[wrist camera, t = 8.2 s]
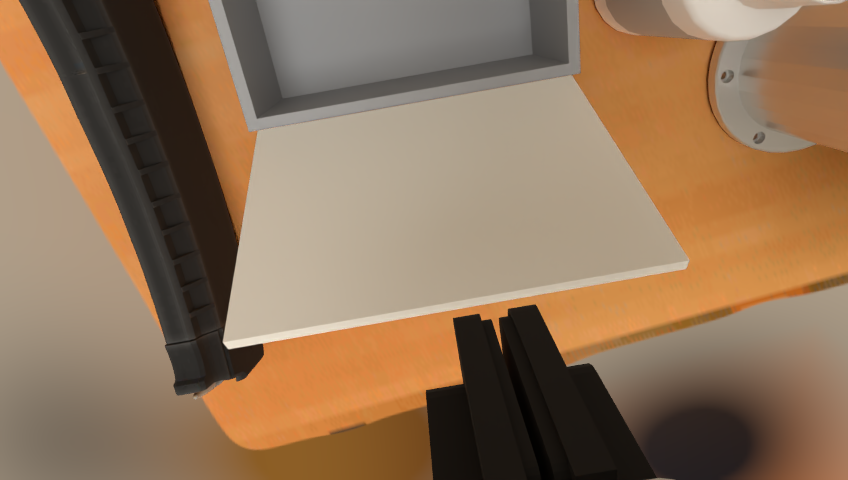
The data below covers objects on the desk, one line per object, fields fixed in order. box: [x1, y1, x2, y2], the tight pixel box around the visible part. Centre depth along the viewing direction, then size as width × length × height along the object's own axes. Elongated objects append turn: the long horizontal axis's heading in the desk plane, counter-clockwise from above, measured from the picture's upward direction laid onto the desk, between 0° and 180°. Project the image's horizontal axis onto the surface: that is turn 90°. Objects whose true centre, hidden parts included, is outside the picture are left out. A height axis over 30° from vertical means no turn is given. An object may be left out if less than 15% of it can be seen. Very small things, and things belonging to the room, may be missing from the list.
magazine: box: [19, 0, 264, 399], centre depth 30 cm, size 17×3×30 cm
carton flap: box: [223, 75, 690, 349], centre depth 22 cm, size 17×13×1 cm
